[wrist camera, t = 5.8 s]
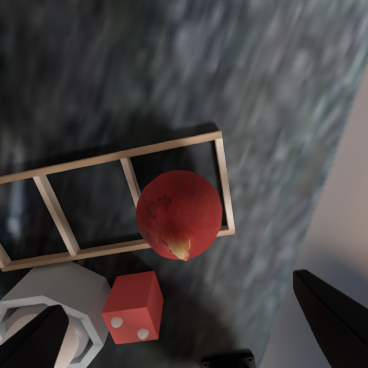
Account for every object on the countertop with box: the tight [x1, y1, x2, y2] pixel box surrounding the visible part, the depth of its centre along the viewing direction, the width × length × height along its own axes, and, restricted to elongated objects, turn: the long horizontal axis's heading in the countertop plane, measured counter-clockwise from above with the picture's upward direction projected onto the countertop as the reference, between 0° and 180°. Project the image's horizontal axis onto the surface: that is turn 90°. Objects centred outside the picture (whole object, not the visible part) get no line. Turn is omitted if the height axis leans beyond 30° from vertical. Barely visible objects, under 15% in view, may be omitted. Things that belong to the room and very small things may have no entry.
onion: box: [136, 170, 222, 261], centre depth 13 cm, size 6×6×8 cm
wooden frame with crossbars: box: [0, 131, 235, 272], centre depth 17 cm, size 9×23×1 cm, turn 102°
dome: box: [0, 303, 90, 368], centre depth 17 cm, size 7×7×6 cm
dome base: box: [0, 261, 163, 368], centre depth 19 cm, size 10×15×4 cm, turn 102°
